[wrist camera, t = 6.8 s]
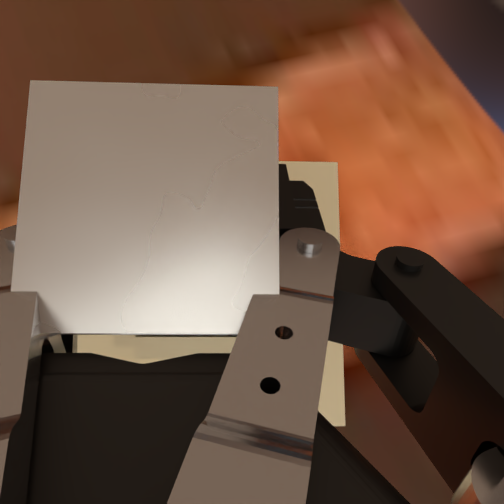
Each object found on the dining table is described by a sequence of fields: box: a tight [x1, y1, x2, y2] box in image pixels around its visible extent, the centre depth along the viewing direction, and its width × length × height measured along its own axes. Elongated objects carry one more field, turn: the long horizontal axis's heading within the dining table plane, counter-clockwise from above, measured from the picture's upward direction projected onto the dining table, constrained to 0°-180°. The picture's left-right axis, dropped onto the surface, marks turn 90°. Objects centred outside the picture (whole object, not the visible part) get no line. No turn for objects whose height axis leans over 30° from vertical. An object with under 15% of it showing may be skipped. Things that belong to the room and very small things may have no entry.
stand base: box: [77, 161, 345, 426], centre depth 20 cm, size 14×14×8 cm
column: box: [11, 80, 279, 335], centre depth 14 cm, size 4×4×15 cm
